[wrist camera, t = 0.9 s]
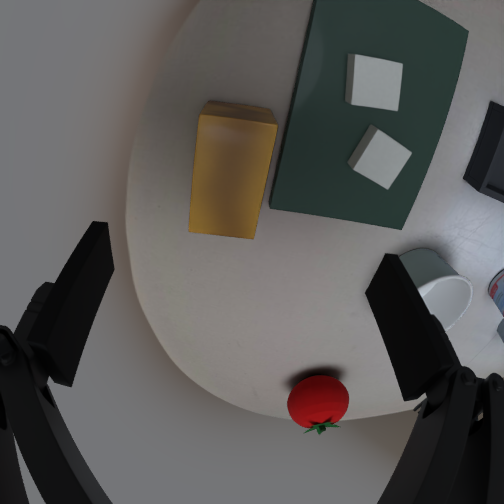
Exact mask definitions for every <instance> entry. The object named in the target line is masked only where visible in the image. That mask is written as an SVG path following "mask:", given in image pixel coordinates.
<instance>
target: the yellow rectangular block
mask: <svg viewBox="0 0 504 504" xmlns="http://www.w3.org/2000/svg"><path fill="white" fill-rule="evenodd" d="M277 129H278V124H277V122H276V120H275V118H274V116H273V114H272V112H271V110H270V109H266V108H260V107H254V106H248V105H241V104H233V103H225V102H217V101H208V102H207V103H206V105H205V106H204V108H203V110H202V111H201V113H200V114H199V120H198V129H197V138H196V147H195V156H194V167H193V178H192V189H191V202H190V216H189V232H194V233H203V234H212V235H220V236H229V237H238V238H246V239H254V236H255V231H256V227H257V222H258V217H259V213H260V208H261V203H262V199H263V194H264V189H265V185H266V180H267V176H268V171H269V166H270V162H271V157H272V152H273V148H274V143H275V138H276V134H277Z"/></svg>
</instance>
